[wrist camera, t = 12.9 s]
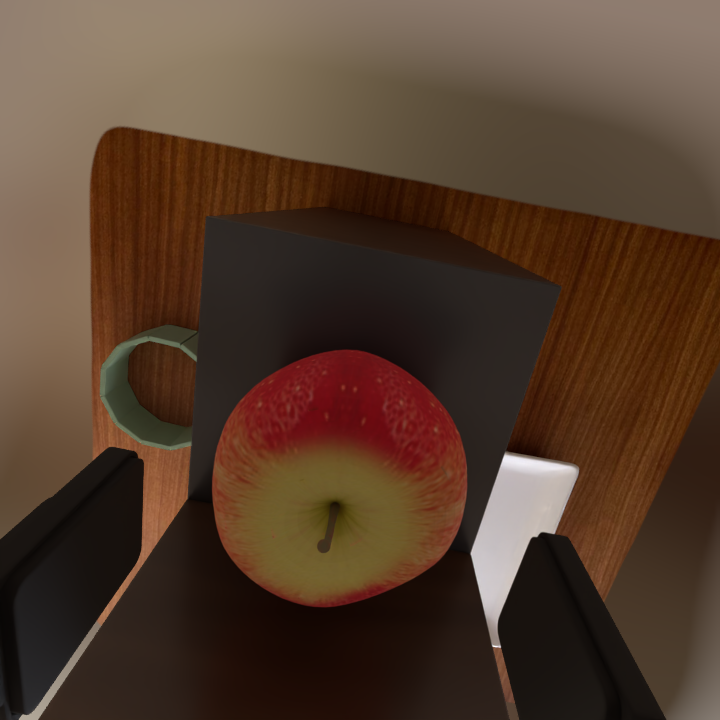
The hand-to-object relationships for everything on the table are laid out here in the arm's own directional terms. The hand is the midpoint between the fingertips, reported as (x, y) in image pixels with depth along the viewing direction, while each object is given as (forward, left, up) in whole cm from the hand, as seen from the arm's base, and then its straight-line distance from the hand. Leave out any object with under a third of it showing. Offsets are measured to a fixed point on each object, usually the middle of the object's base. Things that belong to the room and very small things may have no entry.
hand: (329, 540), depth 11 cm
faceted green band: (+6, -28, -43) cm, 52 cm away
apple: (+1, 0, -9) cm, 9 cm away
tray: (+39, +3, -43) cm, 58 cm away
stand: (+1, 0, -43) cm, 43 cm away
